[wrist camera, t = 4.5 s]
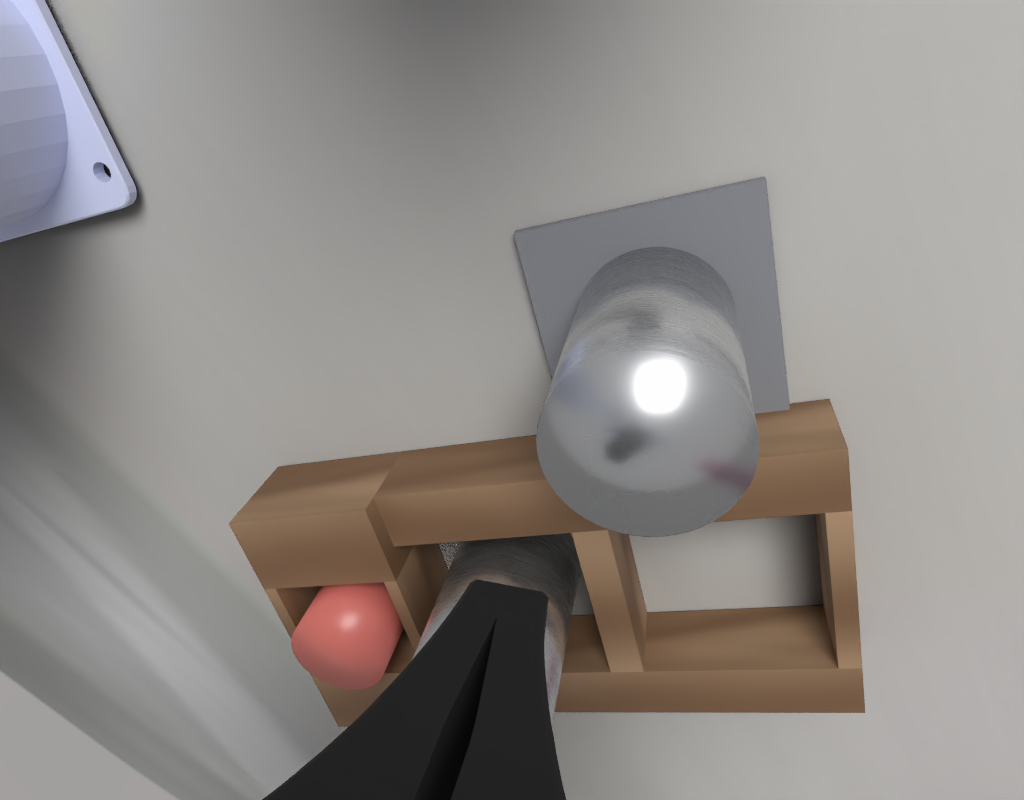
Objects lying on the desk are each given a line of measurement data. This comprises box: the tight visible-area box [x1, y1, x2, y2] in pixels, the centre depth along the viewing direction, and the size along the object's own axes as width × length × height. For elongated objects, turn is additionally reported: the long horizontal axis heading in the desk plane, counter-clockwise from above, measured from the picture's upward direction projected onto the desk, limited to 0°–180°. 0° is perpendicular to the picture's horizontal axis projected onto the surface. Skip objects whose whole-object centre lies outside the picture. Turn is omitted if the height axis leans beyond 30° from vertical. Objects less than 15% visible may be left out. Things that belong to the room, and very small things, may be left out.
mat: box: [514, 177, 790, 414], centre depth 18 cm, size 6×6×1 cm
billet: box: [536, 247, 760, 537], centre depth 15 cm, size 4×4×6 cm
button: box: [291, 582, 404, 690], centre depth 23 cm, size 3×3×3 cm
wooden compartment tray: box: [229, 399, 865, 727], centre depth 21 cm, size 9×17×3 cm, turn 106°
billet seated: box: [412, 533, 580, 725], centre depth 21 cm, size 4×4×6 cm
